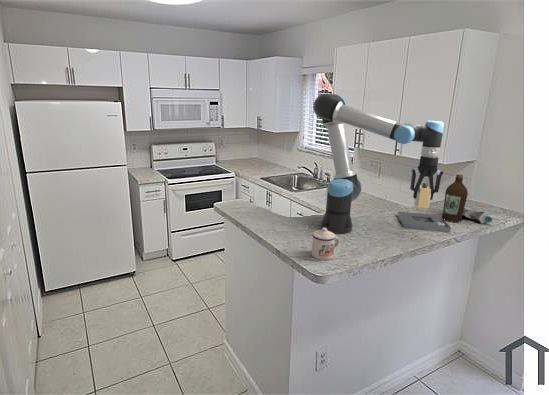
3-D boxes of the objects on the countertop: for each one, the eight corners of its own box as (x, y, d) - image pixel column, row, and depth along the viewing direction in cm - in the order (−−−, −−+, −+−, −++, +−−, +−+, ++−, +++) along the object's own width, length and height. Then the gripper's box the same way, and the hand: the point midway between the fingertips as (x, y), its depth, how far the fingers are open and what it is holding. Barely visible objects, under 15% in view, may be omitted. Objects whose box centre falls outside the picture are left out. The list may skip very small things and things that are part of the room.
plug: (417, 207, 162) (421, 184, 159) (415, 204, 168) (418, 181, 165) (427, 208, 161) (431, 185, 158) (425, 205, 167) (428, 182, 164)
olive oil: (445, 215, 200) (452, 172, 193) (465, 220, 193) (473, 175, 186) (437, 219, 193) (445, 174, 186) (458, 224, 185) (467, 178, 179)
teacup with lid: (318, 262, 136) (320, 233, 132) (306, 252, 143) (308, 225, 140) (344, 257, 141) (347, 230, 137) (331, 248, 148) (333, 222, 145)
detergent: (440, 213, 204) (480, 226, 182) (443, 201, 202) (483, 213, 180) (456, 213, 209) (496, 226, 187) (459, 201, 208) (500, 213, 186)
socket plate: (403, 227, 177) (404, 221, 176) (397, 215, 196) (398, 209, 195) (449, 232, 173) (451, 225, 172) (439, 219, 192) (440, 213, 191)
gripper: (410, 155, 156) (403, 206, 162) (452, 158, 153) (443, 210, 159) (407, 153, 163) (400, 201, 169) (448, 156, 160) (439, 205, 167)
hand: (421, 205), depth 164 cm, fingers closed on plug, 4 cm apart
